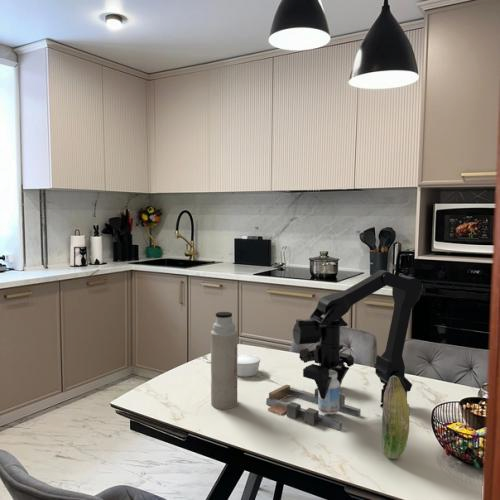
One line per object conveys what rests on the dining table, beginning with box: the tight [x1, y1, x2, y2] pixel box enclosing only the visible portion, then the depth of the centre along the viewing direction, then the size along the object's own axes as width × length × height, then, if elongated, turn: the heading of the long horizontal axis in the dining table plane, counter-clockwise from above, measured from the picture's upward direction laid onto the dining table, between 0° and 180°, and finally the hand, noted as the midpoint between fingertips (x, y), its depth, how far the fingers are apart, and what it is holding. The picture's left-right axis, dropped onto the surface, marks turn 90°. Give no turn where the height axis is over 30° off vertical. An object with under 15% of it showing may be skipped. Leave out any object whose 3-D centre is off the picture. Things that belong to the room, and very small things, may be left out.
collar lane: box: [265, 384, 362, 431], centre depth 134 cm, size 25×18×4 cm
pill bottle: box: [317, 370, 341, 415], centre depth 130 cm, size 6×6×11 cm
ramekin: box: [237, 353, 261, 378], centre depth 165 cm, size 11×11×5 cm
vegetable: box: [381, 376, 410, 460], centre depth 107 cm, size 6×6×20 cm
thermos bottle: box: [210, 311, 238, 410], centre depth 137 cm, size 8×8×28 cm
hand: (328, 395), depth 130 cm, fingers closed on pill bottle, 6 cm apart
